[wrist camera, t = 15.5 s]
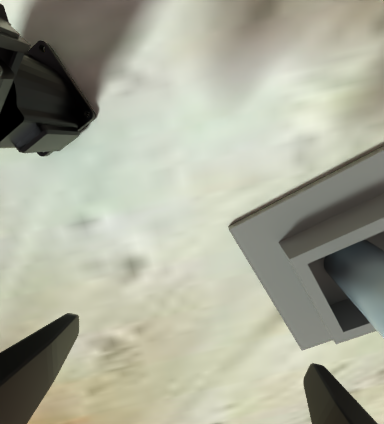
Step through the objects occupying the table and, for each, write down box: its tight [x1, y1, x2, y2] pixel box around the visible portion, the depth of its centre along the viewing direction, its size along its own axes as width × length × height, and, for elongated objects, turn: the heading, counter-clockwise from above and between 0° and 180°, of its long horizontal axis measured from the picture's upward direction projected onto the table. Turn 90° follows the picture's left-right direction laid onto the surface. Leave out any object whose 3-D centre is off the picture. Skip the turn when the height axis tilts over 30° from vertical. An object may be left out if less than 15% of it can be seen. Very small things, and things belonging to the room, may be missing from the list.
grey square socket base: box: [229, 146, 384, 350], centre depth 19 cm, size 16×16×4 cm
